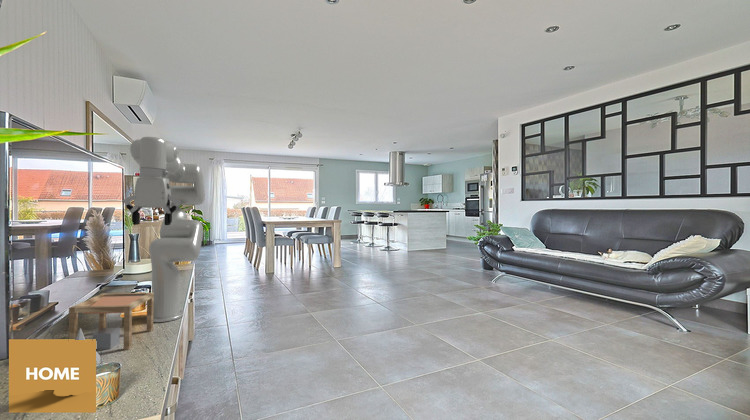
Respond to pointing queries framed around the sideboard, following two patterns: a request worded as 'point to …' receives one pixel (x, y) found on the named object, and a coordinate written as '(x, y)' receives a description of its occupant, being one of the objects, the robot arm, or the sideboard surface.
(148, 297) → the frame
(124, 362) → the sideboard surface
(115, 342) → the grey cube
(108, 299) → the trapdoor
